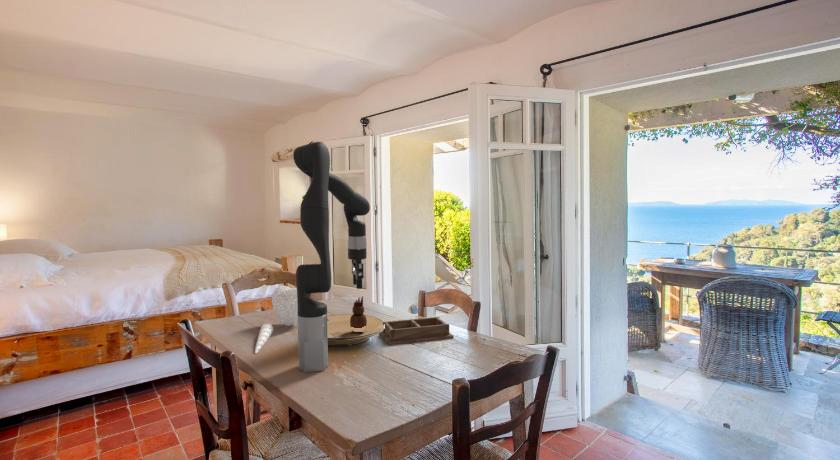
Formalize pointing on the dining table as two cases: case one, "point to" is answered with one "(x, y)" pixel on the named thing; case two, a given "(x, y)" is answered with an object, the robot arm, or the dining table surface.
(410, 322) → the brown divided wooden tray
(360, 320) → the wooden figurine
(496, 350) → the dining table surface
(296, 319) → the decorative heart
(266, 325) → the unicorn horn
